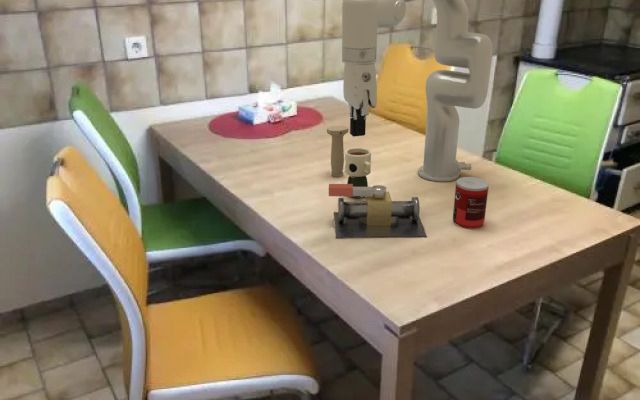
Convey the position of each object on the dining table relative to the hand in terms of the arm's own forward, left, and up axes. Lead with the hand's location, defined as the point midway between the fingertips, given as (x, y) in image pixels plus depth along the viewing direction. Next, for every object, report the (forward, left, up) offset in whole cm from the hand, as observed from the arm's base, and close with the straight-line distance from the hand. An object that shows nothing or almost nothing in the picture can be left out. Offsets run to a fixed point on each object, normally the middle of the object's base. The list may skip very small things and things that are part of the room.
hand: (357, 134), depth 136 cm
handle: (+3, -37, -25) cm, 45 cm away
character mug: (-2, -22, -25) cm, 33 cm away
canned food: (-29, -4, -25) cm, 38 cm away
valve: (-6, -3, -25) cm, 26 cm away
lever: (-1, -5, -18) cm, 18 cm away
